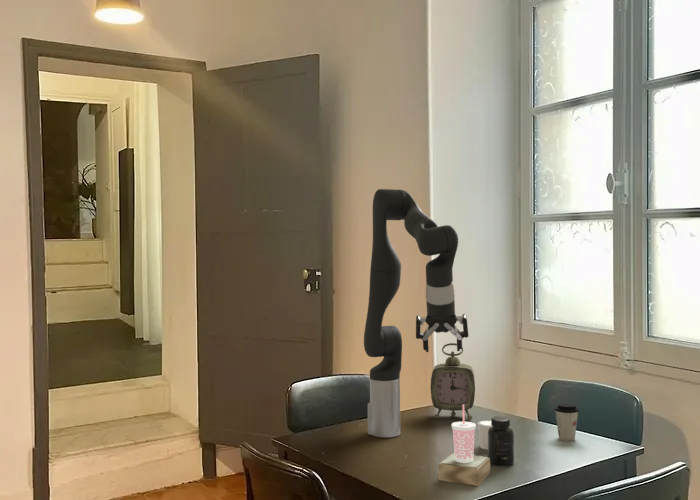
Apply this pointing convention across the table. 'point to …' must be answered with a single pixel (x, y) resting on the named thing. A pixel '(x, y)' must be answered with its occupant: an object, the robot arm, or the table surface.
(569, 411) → the coffee cup
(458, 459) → the beverage cup
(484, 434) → the white cup
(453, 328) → the robot arm
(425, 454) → the table surface
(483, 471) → the small box
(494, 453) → the supplement bottle
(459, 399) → the tabletop clock
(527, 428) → the table surface
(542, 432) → the table surface
